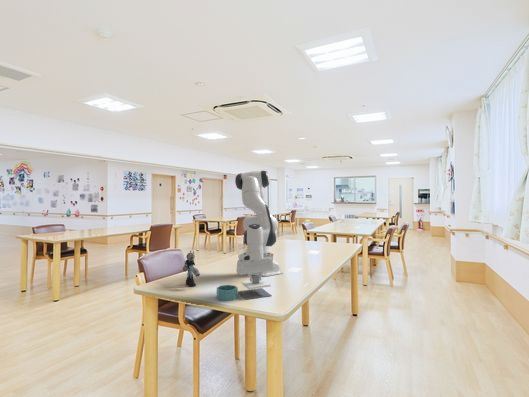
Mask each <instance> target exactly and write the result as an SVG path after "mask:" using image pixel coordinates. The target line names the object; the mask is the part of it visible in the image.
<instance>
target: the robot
mask: <svg viewBox="0 0 529 397" xmlns="http://www.w3.org/2000/svg"><path fill="white" fill-rule="evenodd" d="M189 251H190V252H188V253H187V255H186V256H185V257H186V260H185V261H184V265H183V266H182V271H183V272H187V273H186V274H187V275H186V276H187V277H186V279H185V286H188V287H189V288H194V287H197V284H196V283H195V279H194V276H195V277H196V278H197V277H200V275H201V273H200V271H199V270H198V268H196V267H195V266H196V262H195V251H192V250H189Z"/></svg>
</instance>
